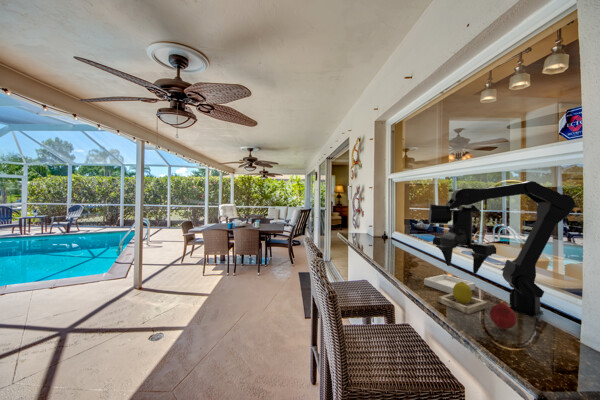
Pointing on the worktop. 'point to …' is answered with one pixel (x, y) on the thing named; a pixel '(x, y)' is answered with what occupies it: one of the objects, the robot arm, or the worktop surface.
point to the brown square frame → (469, 309)
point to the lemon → (462, 293)
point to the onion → (503, 315)
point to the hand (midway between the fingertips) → (461, 269)
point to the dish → (446, 283)
